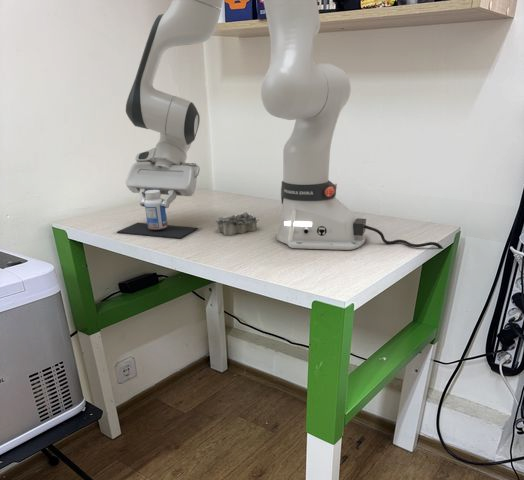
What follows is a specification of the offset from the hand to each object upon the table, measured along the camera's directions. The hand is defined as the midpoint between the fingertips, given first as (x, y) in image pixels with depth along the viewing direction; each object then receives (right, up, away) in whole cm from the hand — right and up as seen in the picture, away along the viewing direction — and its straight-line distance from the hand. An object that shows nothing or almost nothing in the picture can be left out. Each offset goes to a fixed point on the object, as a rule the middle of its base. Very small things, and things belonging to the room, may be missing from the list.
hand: (153, 206), depth 129 cm
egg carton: (+23, -6, +3) cm, 23 cm away
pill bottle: (0, -5, +4) cm, 6 cm away
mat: (0, -6, +4) cm, 7 cm away
